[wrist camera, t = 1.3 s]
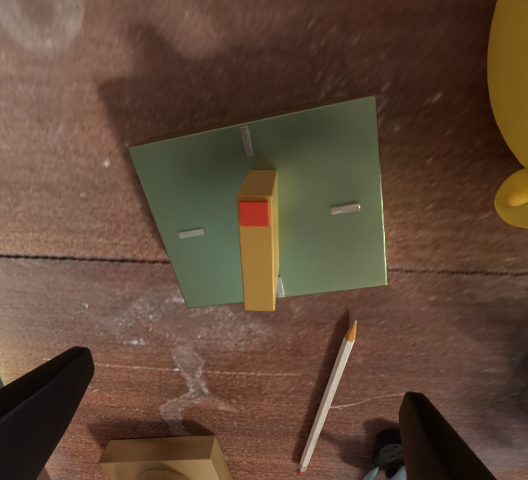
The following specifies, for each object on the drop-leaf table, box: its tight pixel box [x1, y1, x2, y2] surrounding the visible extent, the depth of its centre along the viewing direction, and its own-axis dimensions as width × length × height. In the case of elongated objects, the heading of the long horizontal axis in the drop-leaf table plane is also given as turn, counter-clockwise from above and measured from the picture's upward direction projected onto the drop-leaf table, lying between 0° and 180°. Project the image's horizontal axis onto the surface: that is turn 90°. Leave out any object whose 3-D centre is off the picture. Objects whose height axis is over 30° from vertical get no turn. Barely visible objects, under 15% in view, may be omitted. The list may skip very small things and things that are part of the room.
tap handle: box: [236, 170, 279, 311], centre depth 15 cm, size 6×1×4 cm, turn 2°
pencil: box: [297, 320, 357, 476], centre depth 27 cm, size 1×19×1 cm, turn 171°
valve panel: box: [128, 92, 387, 308], centre depth 19 cm, size 12×10×3 cm
